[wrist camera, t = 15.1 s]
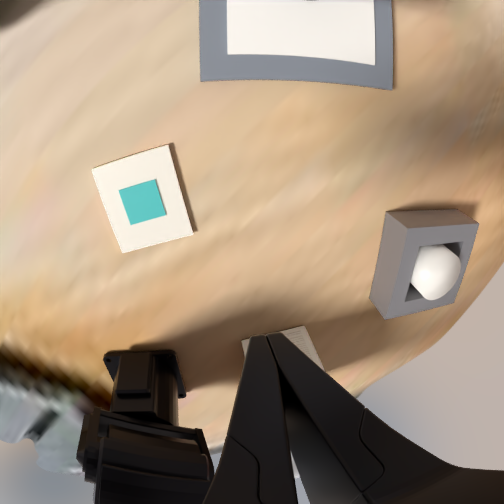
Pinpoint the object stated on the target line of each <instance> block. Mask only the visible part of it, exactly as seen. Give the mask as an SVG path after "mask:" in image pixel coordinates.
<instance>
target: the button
mask: <svg viewBox="0 0 504 504" xmlns="http://www.w3.org/2000/svg"><path fill="white" fill-rule="evenodd" d="M460 270H461V262H460V259H459V257H458V256H456V255H455V254H454V253H453V252H452V251H450V250H449V249H448V248H447V247H445V246H444V245H443V244H435V245H427V246H419V250H418V254H417V258H416V262H415V266H414V270H413V274H412V277H411V281H410V283H411V284H412V285H413V286H414V287H415V288H416V289H417V290H418V291H419V292H420V293H421V295H422V296H423V297H424V298H425V299H427V300H435V299H438V298H440V297H442V296H443V295H445V294H446V293H447V292H448V291H449V290H450V289H451V288H452V287H453V286H454V284H455V283H456V281H457V279H458V277H459V274H460Z"/></svg>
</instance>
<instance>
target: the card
mask: <svg viewBox="0 0 504 504" xmlns="http://www.w3.org/2000/svg"><path fill="white" fill-rule="evenodd" d="M92 173H93V176H94V179H95V182H96V185H97V188H98V191H99V193H100V196H101V199H102V202H103V205H104V207H105V210H106V213H107V215H108V218H109V221H110V223H111V226H112V228H113V231H114V233H115V236H116V238H117V241H118V243H119V246H120V248H121V251H122V253H126V252H130V251H133V250H137V249H141V248H144V247H148V246H152V245H156V244H159V243H163V242H167V241H171V240H174V239H178V238H182V237H186V236H190V235H193V230H192V226H191V223H190V220H189V216H188V213H187V209H186V206H185V202H184V199H183V195H182V192H181V188H180V185H179V181H178V178H177V174H176V170H175V167H174V163H173V159H172V156H171V152H170V148H169V145H168V144H167V145H164V146H160V147H157V148H153V149H150V150H147V151H143V152H140V153H137V154H134V155H131V156H128V157H125V158H121V159H118V160H115V161H113V162H110V163H107V164H104V165H101V166H98V167H95V168H93V169H92Z"/></svg>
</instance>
